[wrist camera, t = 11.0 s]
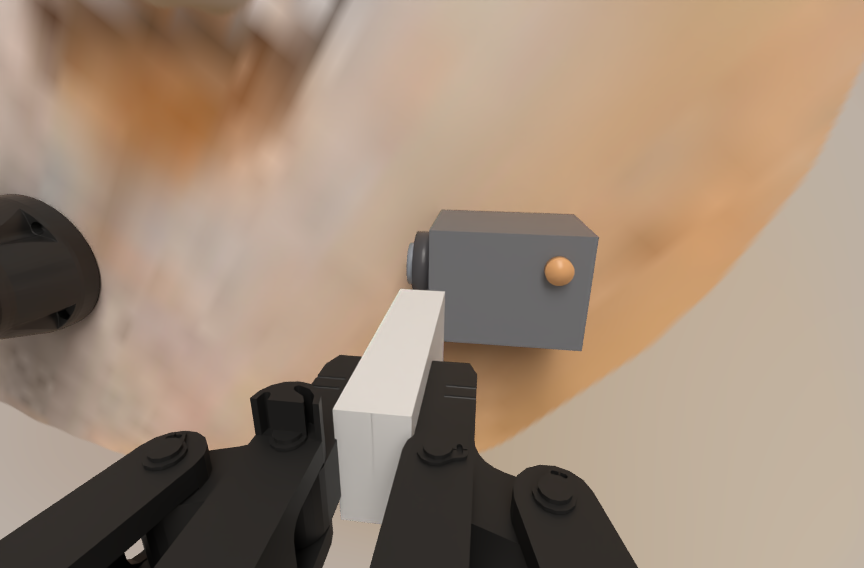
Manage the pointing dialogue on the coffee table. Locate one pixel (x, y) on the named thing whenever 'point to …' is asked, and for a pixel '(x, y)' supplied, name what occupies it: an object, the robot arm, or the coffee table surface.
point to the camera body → (508, 276)
